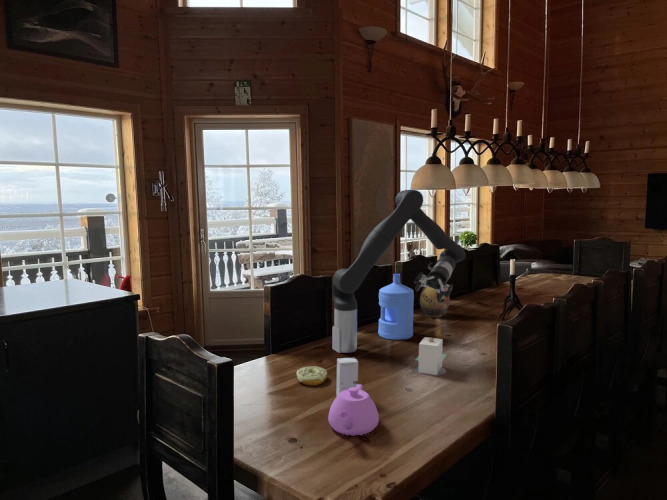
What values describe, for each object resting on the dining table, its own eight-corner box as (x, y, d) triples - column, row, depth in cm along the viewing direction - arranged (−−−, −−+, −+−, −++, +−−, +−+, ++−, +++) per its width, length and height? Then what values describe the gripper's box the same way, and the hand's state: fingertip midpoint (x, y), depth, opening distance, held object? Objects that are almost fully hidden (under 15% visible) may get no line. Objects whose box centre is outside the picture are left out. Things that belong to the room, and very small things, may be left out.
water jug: (403, 329, 231) (404, 270, 228) (419, 338, 216) (420, 276, 213) (372, 332, 226) (373, 272, 223) (387, 342, 211) (388, 278, 208)
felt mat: (441, 364, 183) (441, 363, 183) (414, 361, 187) (414, 360, 187) (446, 355, 194) (446, 354, 194) (422, 352, 198) (422, 351, 198)
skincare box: (339, 401, 150) (339, 363, 149) (335, 395, 155) (336, 358, 153) (358, 399, 152) (358, 361, 150) (354, 393, 156) (355, 356, 155)
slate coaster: (427, 378, 169) (427, 377, 169) (408, 368, 179) (408, 367, 179) (452, 373, 174) (452, 372, 174) (432, 363, 184) (432, 362, 184)
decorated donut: (296, 387, 162) (296, 376, 161) (296, 375, 172) (296, 364, 172) (327, 386, 162) (327, 375, 162) (326, 374, 173) (326, 364, 173)
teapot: (317, 441, 126) (317, 401, 125) (337, 409, 145) (337, 374, 144) (370, 449, 122) (371, 408, 121) (383, 414, 141) (384, 379, 140)
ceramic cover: (436, 375, 171) (437, 342, 170) (418, 372, 174) (419, 340, 172) (441, 367, 179) (442, 336, 178) (424, 364, 182) (424, 333, 181)
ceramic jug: (437, 320, 247) (438, 262, 244) (413, 315, 258) (414, 259, 255) (457, 315, 258) (458, 259, 255) (433, 310, 270) (434, 256, 266)
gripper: (426, 259, 198) (412, 278, 186) (460, 272, 193) (447, 293, 181) (422, 274, 202) (408, 294, 190) (455, 287, 197) (442, 308, 185)
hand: (427, 293), depth 185 cm, fingers open, 8 cm apart
